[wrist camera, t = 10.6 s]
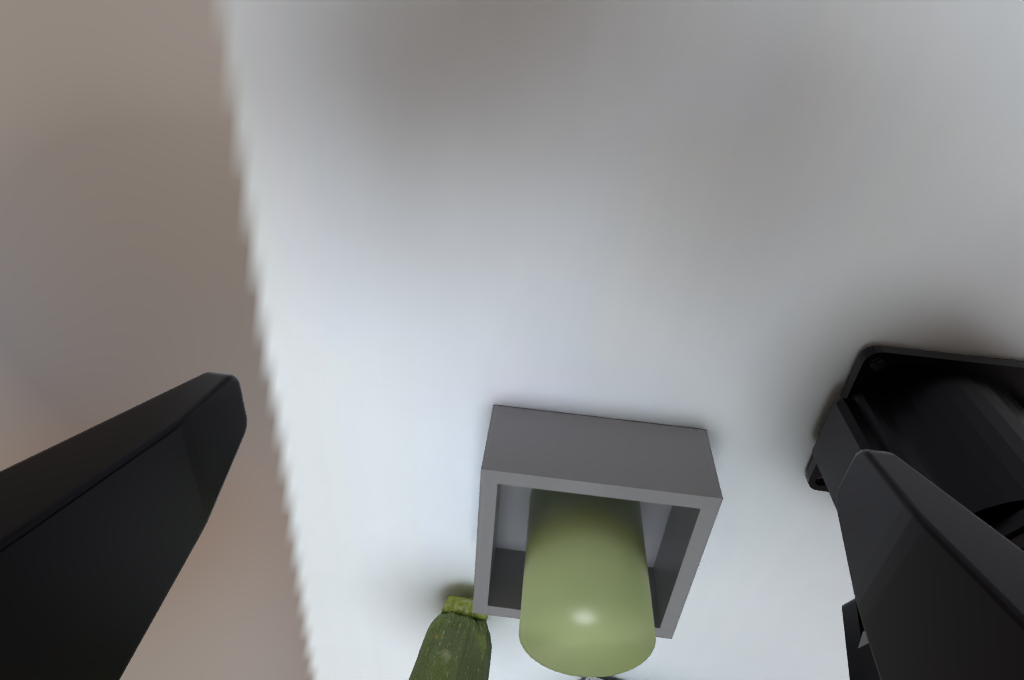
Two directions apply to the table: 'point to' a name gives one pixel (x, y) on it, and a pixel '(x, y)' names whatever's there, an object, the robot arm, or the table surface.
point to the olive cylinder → (586, 585)
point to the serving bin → (598, 472)
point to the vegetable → (455, 644)
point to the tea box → (592, 678)
